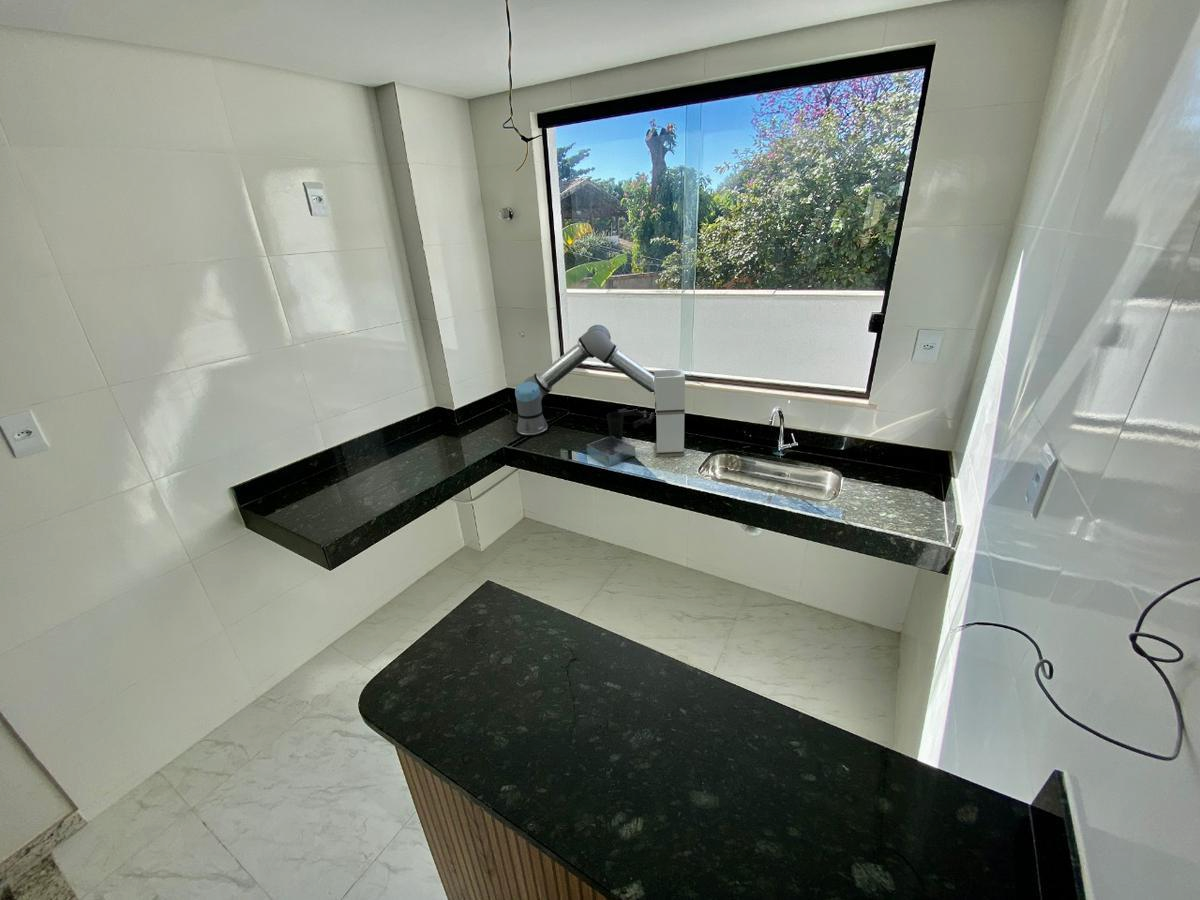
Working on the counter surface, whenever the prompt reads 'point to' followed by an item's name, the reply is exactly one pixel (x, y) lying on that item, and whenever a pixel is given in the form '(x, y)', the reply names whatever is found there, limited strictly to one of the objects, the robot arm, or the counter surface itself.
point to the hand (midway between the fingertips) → (622, 422)
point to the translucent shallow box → (610, 450)
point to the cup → (615, 424)
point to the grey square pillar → (669, 411)
